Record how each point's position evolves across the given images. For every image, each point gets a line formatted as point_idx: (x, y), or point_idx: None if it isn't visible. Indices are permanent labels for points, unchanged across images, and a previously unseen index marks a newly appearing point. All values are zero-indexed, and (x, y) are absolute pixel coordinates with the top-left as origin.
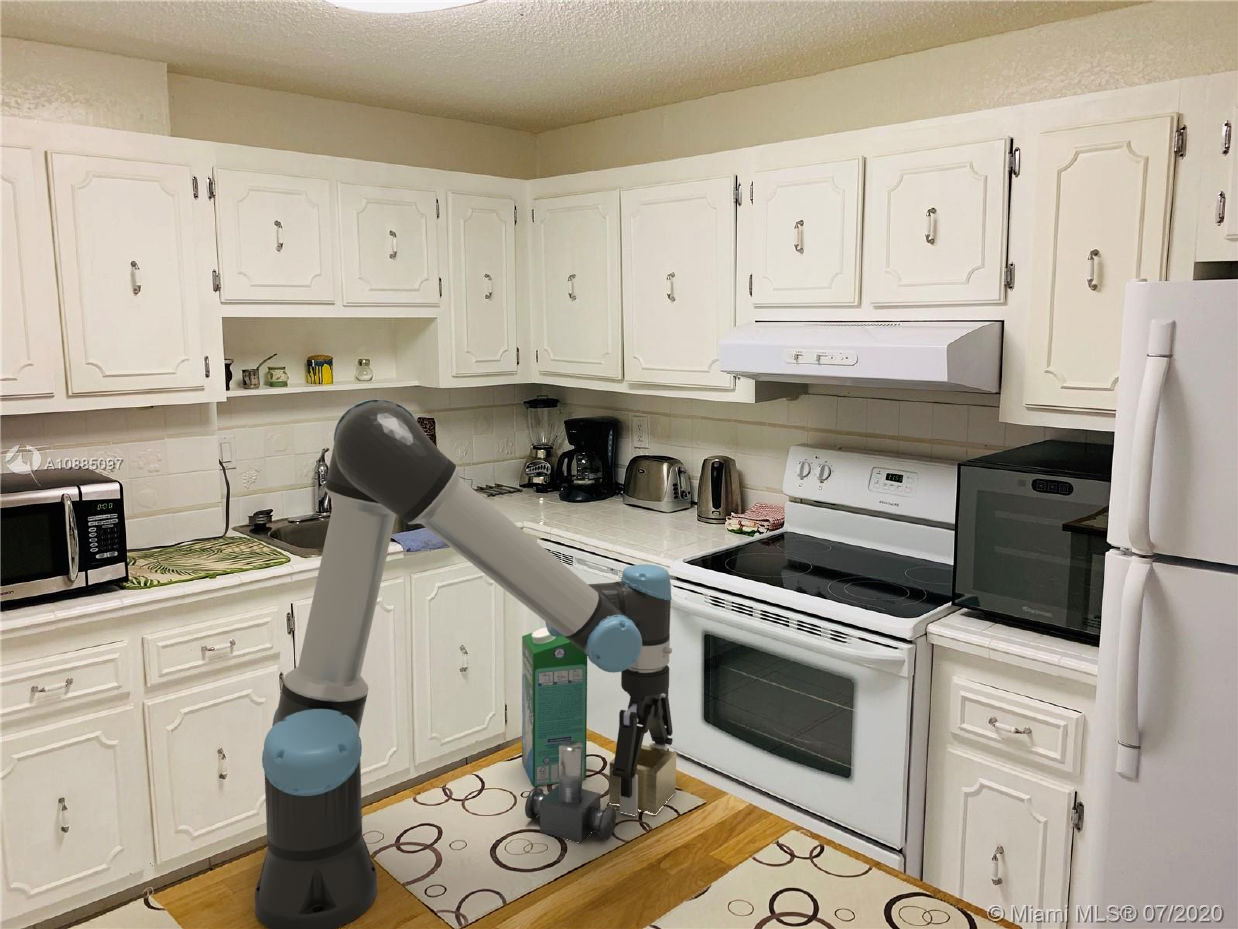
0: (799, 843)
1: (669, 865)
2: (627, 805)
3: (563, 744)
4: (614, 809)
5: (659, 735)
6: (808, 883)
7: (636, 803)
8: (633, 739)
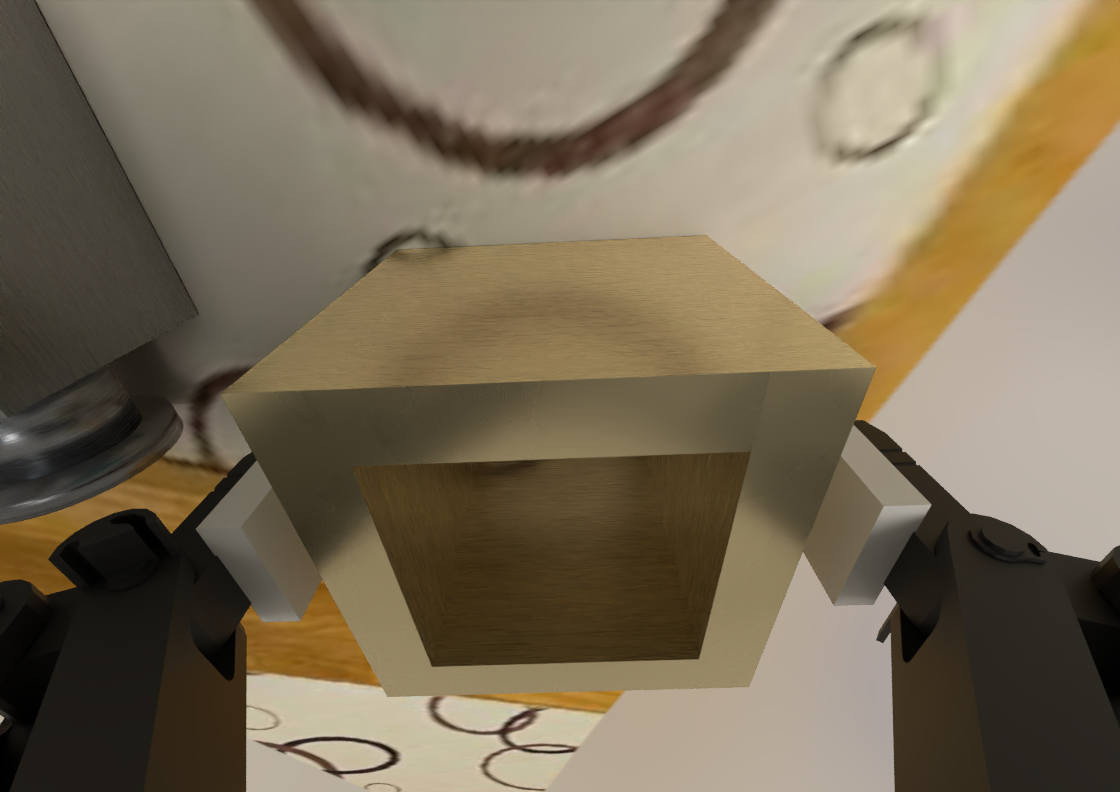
0: (558, 730)
1: None
2: None
3: None
4: (92, 493)
5: (912, 706)
6: (425, 757)
7: None
8: None
